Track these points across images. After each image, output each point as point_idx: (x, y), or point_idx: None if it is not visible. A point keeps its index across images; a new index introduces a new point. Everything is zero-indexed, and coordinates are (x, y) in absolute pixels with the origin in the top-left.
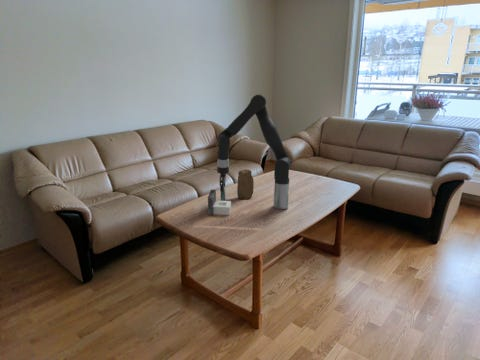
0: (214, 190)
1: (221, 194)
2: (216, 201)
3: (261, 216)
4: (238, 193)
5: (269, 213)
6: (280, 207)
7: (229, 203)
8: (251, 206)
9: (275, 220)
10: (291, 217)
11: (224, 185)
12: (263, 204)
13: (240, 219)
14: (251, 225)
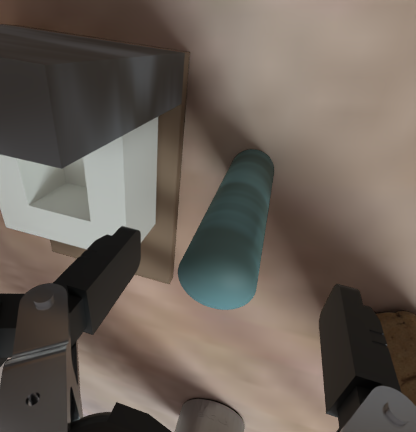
0: (26, 142)
1: (209, 211)
2: None
3: (103, 329)
4: (396, 342)
5: (139, 363)
6: (179, 416)
7: (78, 240)
8: (222, 330)
9: (78, 356)
10: (115, 401)
11: (326, 332)
12: (247, 380)
13: (48, 242)
14: (6, 271)
